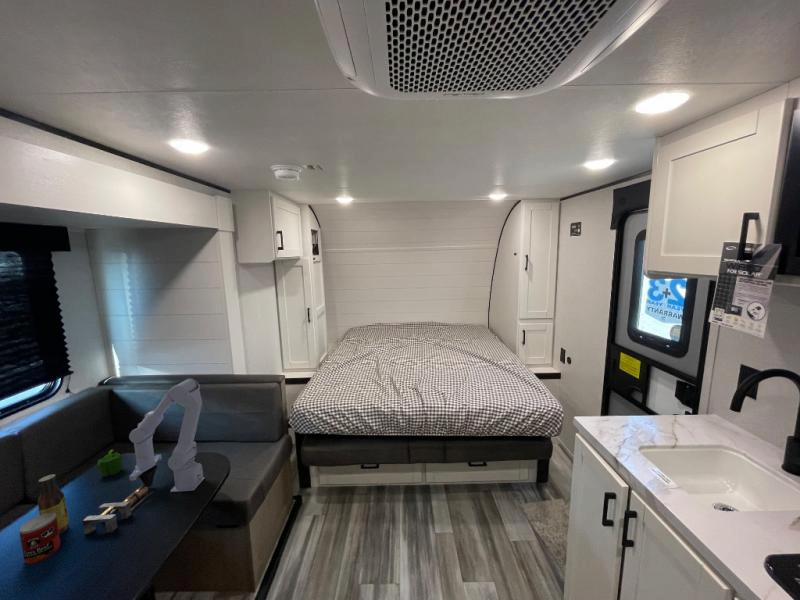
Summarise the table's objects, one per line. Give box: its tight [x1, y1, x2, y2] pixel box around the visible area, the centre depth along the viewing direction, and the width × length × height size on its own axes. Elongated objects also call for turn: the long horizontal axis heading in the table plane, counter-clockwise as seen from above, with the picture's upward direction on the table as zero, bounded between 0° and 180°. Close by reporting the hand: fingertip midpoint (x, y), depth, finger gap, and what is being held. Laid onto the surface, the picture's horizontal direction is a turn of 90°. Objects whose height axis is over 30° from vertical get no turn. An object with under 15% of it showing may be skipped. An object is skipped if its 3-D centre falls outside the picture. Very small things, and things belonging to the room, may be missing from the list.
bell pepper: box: [97, 449, 123, 478], centre depth 143 cm, size 8×8×10 cm
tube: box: [117, 485, 149, 512], centre depth 123 cm, size 10×3×3 cm, turn 2°
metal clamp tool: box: [82, 489, 154, 535], centre depth 118 cm, size 9×20×5 cm, turn 2°
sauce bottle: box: [37, 473, 70, 535], centre depth 109 cm, size 7×6×20 cm
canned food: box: [19, 512, 61, 565], centre depth 101 cm, size 8×8×11 cm
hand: (148, 485), depth 131 cm, fingers closed
